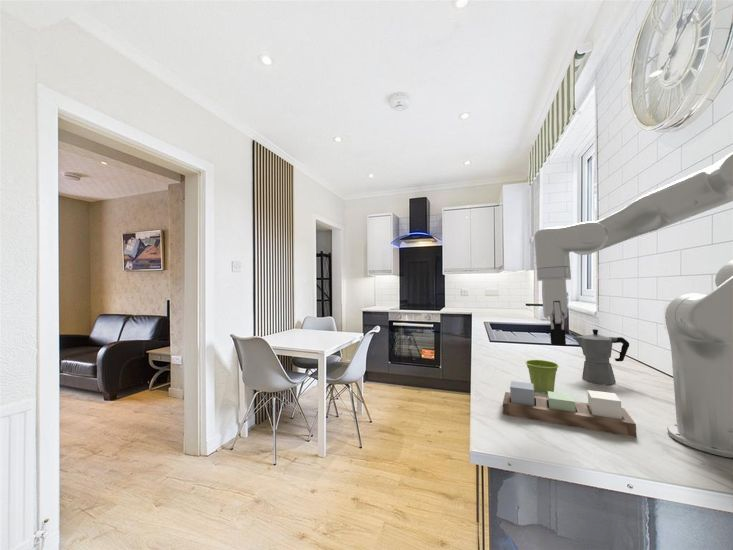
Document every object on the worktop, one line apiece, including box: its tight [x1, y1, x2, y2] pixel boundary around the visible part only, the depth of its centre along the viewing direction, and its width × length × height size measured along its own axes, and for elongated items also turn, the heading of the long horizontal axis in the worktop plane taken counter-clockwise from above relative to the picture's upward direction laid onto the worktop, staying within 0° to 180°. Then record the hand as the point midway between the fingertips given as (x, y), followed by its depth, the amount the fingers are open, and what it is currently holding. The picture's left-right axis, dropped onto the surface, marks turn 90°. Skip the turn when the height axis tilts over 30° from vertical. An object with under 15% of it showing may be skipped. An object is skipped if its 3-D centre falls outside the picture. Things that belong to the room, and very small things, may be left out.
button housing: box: [502, 391, 638, 438], centre depth 75 cm, size 27×9×3 cm, turn 60°
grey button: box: [509, 380, 535, 406], centre depth 79 cm, size 6×6×5 cm
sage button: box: [547, 391, 576, 412], centre depth 75 cm, size 6×6×5 cm
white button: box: [587, 389, 623, 419], centre depth 71 cm, size 6×6×5 cm
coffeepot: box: [572, 328, 630, 385], centre depth 101 cm, size 15×9×18 cm, turn 55°
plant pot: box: [524, 359, 560, 394], centre depth 94 cm, size 9×9×9 cm
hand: (558, 344), depth 75 cm, fingers closed
